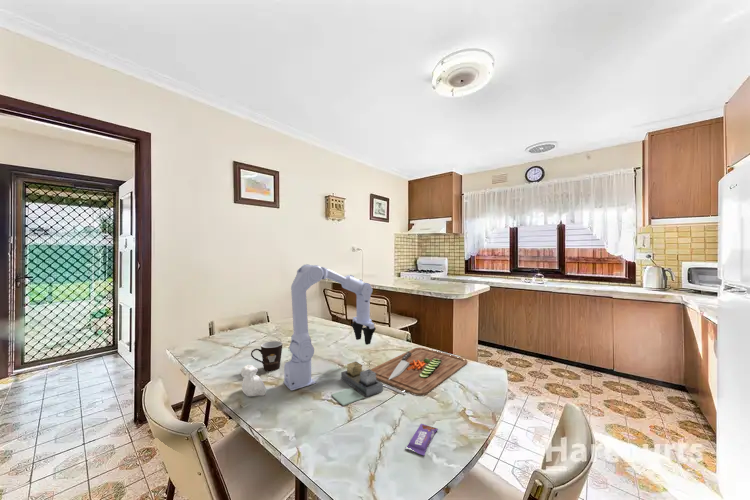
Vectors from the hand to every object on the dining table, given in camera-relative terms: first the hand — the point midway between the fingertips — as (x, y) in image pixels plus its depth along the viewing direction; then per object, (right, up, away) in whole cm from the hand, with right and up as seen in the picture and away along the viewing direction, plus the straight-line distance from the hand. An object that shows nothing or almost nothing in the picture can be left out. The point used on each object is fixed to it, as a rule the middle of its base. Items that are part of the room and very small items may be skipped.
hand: (363, 341), depth 121 cm
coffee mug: (-40, -10, -3) cm, 41 cm away
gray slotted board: (0, -10, -18) cm, 20 cm away
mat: (-4, -10, -26) cm, 28 cm away
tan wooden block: (-3, -10, -14) cm, 17 cm away
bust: (-37, -10, -24) cm, 46 cm away
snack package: (+18, -11, -48) cm, 52 cm away
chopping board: (+24, -11, -3) cm, 26 cm away
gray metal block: (+3, -10, -21) cm, 24 cm away
